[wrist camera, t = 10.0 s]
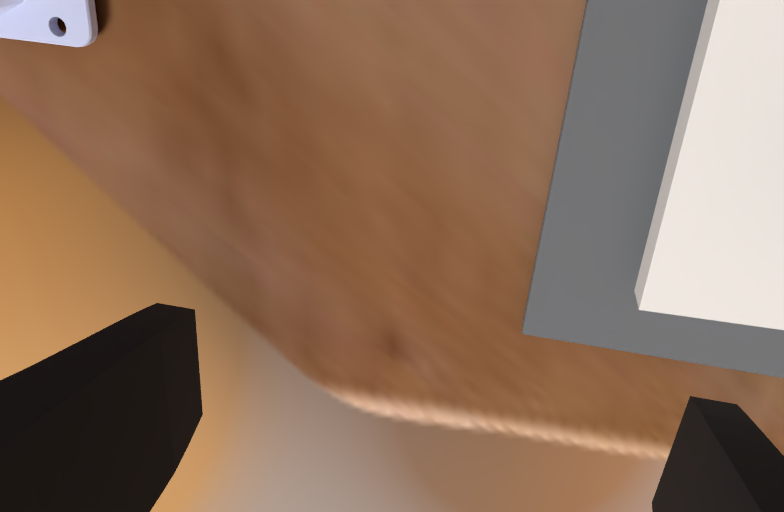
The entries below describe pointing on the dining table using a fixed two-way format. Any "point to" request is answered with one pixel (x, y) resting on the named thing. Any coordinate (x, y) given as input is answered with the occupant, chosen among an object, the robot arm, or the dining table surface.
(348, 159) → the dining table surface
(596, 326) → the mat
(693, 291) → the lid
